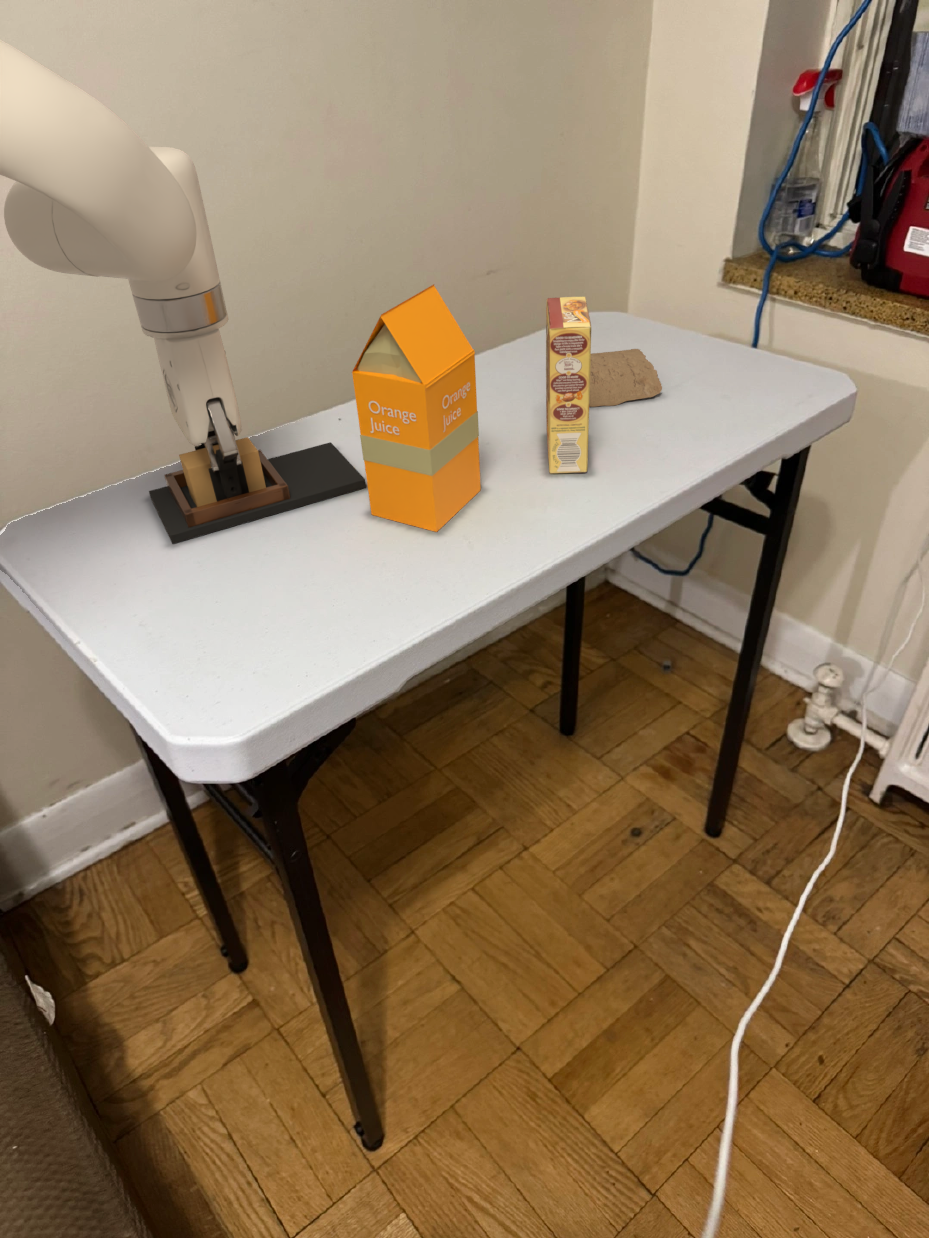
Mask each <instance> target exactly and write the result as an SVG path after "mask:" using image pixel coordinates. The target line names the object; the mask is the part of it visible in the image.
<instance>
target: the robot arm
mask: <svg viewBox="0 0 929 1238" xmlns="http://www.w3.org/2000/svg"><path fill="white" fill-rule="evenodd" d="M0 176H2V177H5V178H8V179H10V180H13V181H15V182H14V183H13V185H12V186H11V187H10V189H9V191H8V193H7V195H6V198H5V201H4V207H3V219H4V225H5V229H6V232H7V234H8V236H9V238H10V240H11V242H12V244H13V245H14V247H16V249H17V250H18V251H19V252H20V253H21V254H22V255H23V256H24V257H25V258H27V260H29V261H30V262H32V263H34V264H35V265H37V266H39V267H41V268H44V269H47V270H50V271H52V272H56V273H61V274H68V275H78V276H87V277H97V278H98V277H99V278H100V277H103V278H114V279H122V280H123V279H125V280H128V283H129V288H130V291H131V294H132V299H133V302H134V306H135V309H136V313H137V317H138V320H139V324H140V328H141V332H142V333H143V334H144V335H145V336H146V337H150V338H153V339H154V345H155V349H156V353H157V358H158V362H159V366H160V370H161V375H162V379H163V383H164V387H165V391H166V396H167V401H168V404H169V409H170V412H171V415H172V417H173V419H174V421H175V422H176V424H177V426H178V427H179V429H180V431H181V432H182V434H183V435H184V437H185V438H186V440H187V441H188V443H189V444H190V445H192V446H194V451H195V450H199V449H203V448H206V451H207V454H208V458H209V461H210V465H211V468H209V473H210V477H211V481H212V485H213V489H214V493H215V496H216V500H217V501H221V500H224V499H228V498H231V497H235V496H238V495H242V494H246V493H249V489H248V484H247V480H246V476H245V471H244V467H243V463H242V461H241V458H240V454H239V451H238V447H237V443H236V440H237V439H236V437H238V436H239V435H241V433H242V431H243V425H242V420H241V419H242V418H241V414H240V409H239V404H238V400H237V395H236V392H235V386H234V382H233V378H232V374H231V370H230V366H229V363H228V359H227V352H226V349H225V346H224V343H223V339H222V336H221V332H220V329H221V328H222V327H224V326H225V325H226V324H227V323H228V321H229V315H228V311H227V307H226V306H227V305H226V301H225V297H224V292H223V287H222V283H221V280H220V279H221V278H220V275H219V269H218V265H217V261H216V255H215V251H214V245H213V241H212V237H211V231H210V228H209V223H208V218H207V214H206V208H205V203H204V199H203V195H202V190H201V185H200V181H199V177H198V173H197V169H196V166H195V163H194V161H193V160H192V157H190V155H189V154H188V153H186V152H185V151H183V150H182V149H179V148H176V147H172V146H149V145H148V144H146V142H145V141H144V140H143V139H142V138H141V137H140V136H139V135H138V134H137V132H135V130H134V129H133V128H132V127H130V125H129V124H127V123H126V122H125V120H123V119H122V118H121V117H120V116H119V115H117V114H116V113H115V112H114V111H113V110H111V108H109V107H108V106H107V105H105V104H104V103H103V102H102V101H100V100H98V99H97V98H96V97H94V96H93V95H91V94H89V93H88V92H87V91H85V90H84V89H82V88H80V87H79V86H77V85H76V84H74V83H72V81H70V80H68V79H67V78H65V77H63V76H61V75H59V74H58V73H57V72H55V71H53V70H52V69H49V68H48V67H47V66H45V65H43V64H42V63H40V62H39V61H37V60H36V59H34V58H32V57H31V56H29V55H28V54H26V53H24V52H23V51H21V50H19V48H16V47H15V46H13V45H12V44H10V43H8V42H6V41H4V40H3V39H1V38H0ZM235 436H236V437H235ZM215 445H219V450H216V454H215V453H214V449H213V446H215Z"/></svg>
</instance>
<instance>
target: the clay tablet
mask: <svg viewBox="0 0 929 1238" xmlns="http://www.w3.org/2000/svg"><path fill="white" fill-rule="evenodd" d="M658 376H659V374H658V371H657V370H656V369H655V366H654V365H653V363H652V362H651V361H649V360H648V359H647V356H646V355H645V354H644V352H643V351H642V350H641V349H640V348H631V349H623V350H615V351H604V352H603V351H602V352H596V353H595V352H594V353H592V352H591V360H590V396H589V408H590V407H591V408H594V407H595V408H596V407H602V406H606V407H608V406H609V407H611V406H612V407H613V406H614V407H615V406H618V405H621V404H623V403H624V402H628V401H635V400H636V401H637V400H641V399H649V398H653V397H655V396H657V395H660V393H661V392H662V390H663V386H662V383H661V381H660V378H659V377H658Z"/></svg>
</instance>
